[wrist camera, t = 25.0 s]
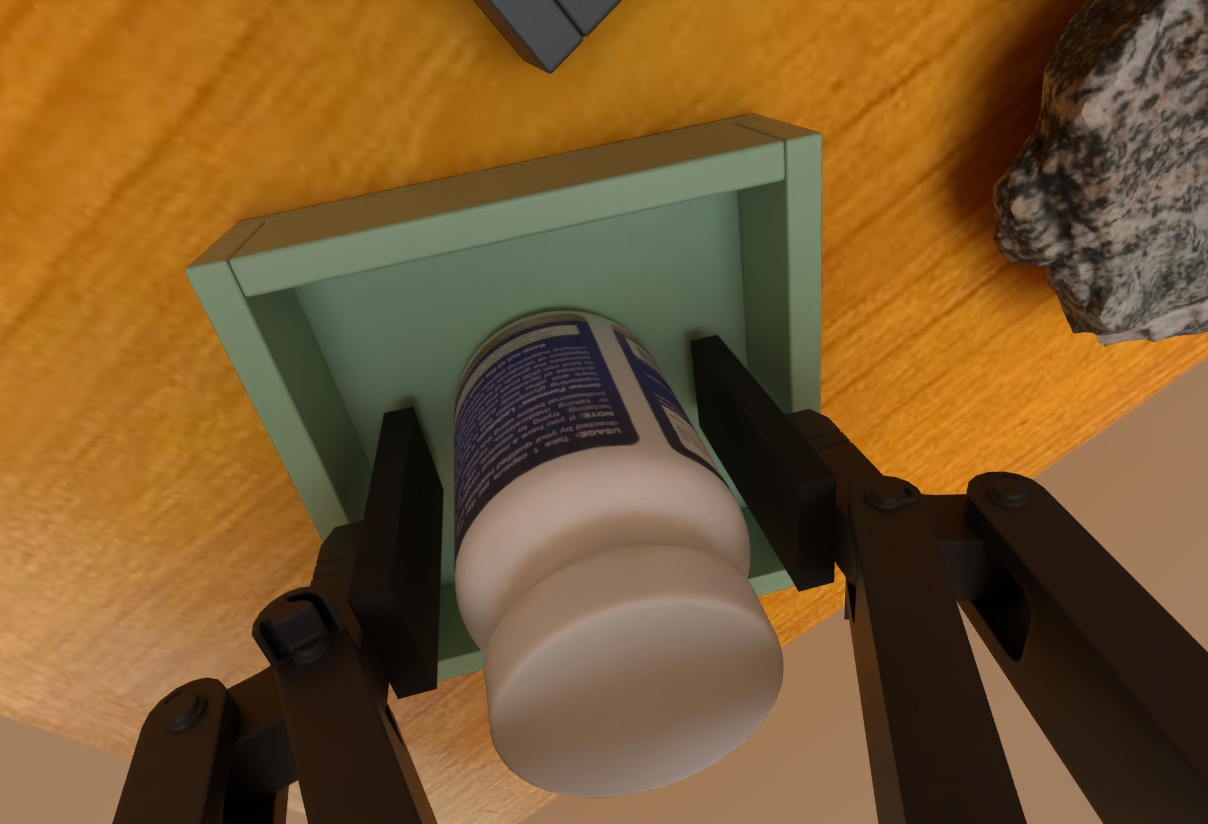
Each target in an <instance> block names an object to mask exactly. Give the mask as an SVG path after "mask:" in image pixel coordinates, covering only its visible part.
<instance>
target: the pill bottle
mask: <svg viewBox="0 0 1208 824" xmlns="http://www.w3.org/2000/svg"><path fill="white" fill-rule="evenodd" d="M749 569H750V540H749V534H748V529H747V525H746V522H745V519H744V516H743V514H742V512H741V510H740V507H739V505H738V503H737V501H736V499H735V497H734V495H733V493H732V491H731V489H730V487H729V486H728V484H727V483H726V481H725V479H724V478H723V476H722V474H721V473H720V471H719V469H718V467H717V466H716V464H715V462H714V461H713V459H712V457H711V456H710V454H709V452H708V451H707V449H706V447H705V445H704V443H703V442H702V440H701V439H700V437H699V435H698V433H697V432H696V430H695V428H694V427H693V425H692V423H691V422H690V420H689V418H688V416H687V415H686V413H685V411H684V410H683V408H682V406H681V404H680V403H679V401H678V399H677V398H676V396H675V394H674V392H673V391H672V389H671V387H670V386H669V384H668V383H667V381H666V379H665V378H664V376H663V374H662V373H661V371H660V369H659V367H658V366H657V364H656V362H655V361H654V359H653V358H652V356H651V355H650V354H649V352H648V351H647V350H646V348H645V347H644V346H643V345H642V343H641V342H640V341H639V340H638V339H637V338H636V337H635V336H634V335H633V334H631V333H630V332H629V331H628V330H626V329H625V328H623V327H622V326H620V325H618V324H617V323H615V322H613V321H611V320H608V319H606V318H603V317H601V316H597V315H594V314H590V313H586V312H579V311H569V310H565V311H550V312H543V313H539V314H535V315H531V316H528V317H525V318H522V319H520V320H517V321H515V322H513V323H511V324H509V325H507V326H506V327H504V328H502V329H501V330H499V331H498V332H496V333H495V334H494V335H493V336H491V337H490V338H489V339H488V340H487V341H486V342H485V343H484V344H483V345H482V346H481V347H480V348H479V349H478V350H477V351H476V353H475V354H474V355H473V356H472V358H471V359H470V361H469V363H468V364H467V366H466V368H465V370H464V372H463V374H462V376H461V379H460V382H459V384H458V388H457V392H456V398H455V405H454V570H455V589H456V597H457V603H458V607H459V611H460V614H461V617H462V620H463V622H464V624H465V626H466V628H467V630H468V632H469V634H470V636H471V637H472V639H473V640H474V642H475V643H476V645H477V646H478V647H479V648H480V649H481V651H482V652H483V653H484V654H485V655H486V657H485V682H486V693H487V704H488V714H489V724H490V733H491V737H492V741H493V744H494V747H495V749H496V751H497V753H498V755H499V756H500V758H501V759H502V761H503V762H504V763H505V765H506V766H507V767H508V768H509V769H510V770H511V771H512V772H513V773H515V774H516V775H517V776H519V777H520V778H521V779H523V780H525V781H526V782H528V783H530V784H532V785H534V786H535V787H538V788H541V789H544V790H547V791H550V792H554V793H559V794H563V795H568V796H573V797H585V798H605V797H616V796H625V795H632V794H637V793H641V792H646V791H650V790H653V789H657V788H661V787H664V786H667V785H670V784H673V783H675V782H678V781H681V780H683V779H685V778H687V777H690V776H692V775H694V774H696V773H698V772H700V771H701V770H703V769H705V768H707V767H709V766H711V765H713V764H714V763H716V762H718V761H719V760H721V759H722V758H724V757H726V756H727V755H728V754H730V753H731V752H732V751H733V750H734V749H735V748H737V747H738V746H739V745H740V744H741V743H742V742H744V741H745V740H746V739H747V738H748V737H749V736H751V735H752V734H753V732H754V731H755V730H756V729H757V728H758V727H759V726H760V725H761V723H762V721H764V719H765V718H766V716H767V715H768V713H769V712H770V710H771V708H772V706H773V705H774V703H775V701H776V698H777V696H778V694H779V691H780V688H781V683H782V679H783V657H782V651H781V648H780V645H779V641H778V638H777V636H776V634H775V632H774V630H773V628H772V626H771V624H770V622H769V620H768V618H767V616H766V614H765V612H764V610H763V608H762V606H761V604H760V602H759V600H758V597H757V595H756V593H755V590H754V589H753V587H752V585H751V583H750V582H749V581H748V580H747V579H748V575H749Z"/></svg>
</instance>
